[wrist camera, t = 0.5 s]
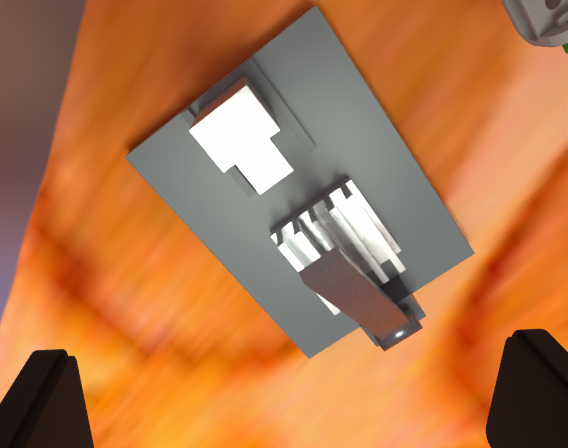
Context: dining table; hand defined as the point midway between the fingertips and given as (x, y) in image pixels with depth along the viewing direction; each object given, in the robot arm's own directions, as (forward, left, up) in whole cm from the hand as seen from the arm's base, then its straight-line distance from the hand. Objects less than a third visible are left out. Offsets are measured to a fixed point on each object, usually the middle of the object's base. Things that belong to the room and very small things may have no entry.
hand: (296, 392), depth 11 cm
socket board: (-7, 0, -26) cm, 27 cm away
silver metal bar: (-10, 0, -18) cm, 20 cm away
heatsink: (-9, 0, -24) cm, 26 cm away
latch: (+1, 0, -24) cm, 24 cm away
